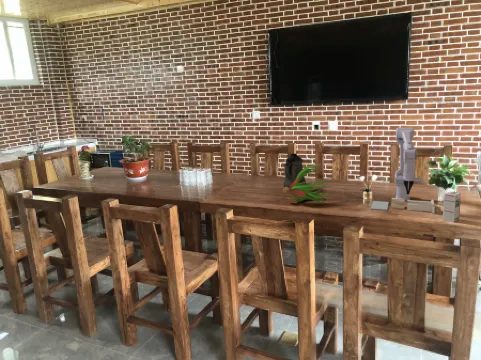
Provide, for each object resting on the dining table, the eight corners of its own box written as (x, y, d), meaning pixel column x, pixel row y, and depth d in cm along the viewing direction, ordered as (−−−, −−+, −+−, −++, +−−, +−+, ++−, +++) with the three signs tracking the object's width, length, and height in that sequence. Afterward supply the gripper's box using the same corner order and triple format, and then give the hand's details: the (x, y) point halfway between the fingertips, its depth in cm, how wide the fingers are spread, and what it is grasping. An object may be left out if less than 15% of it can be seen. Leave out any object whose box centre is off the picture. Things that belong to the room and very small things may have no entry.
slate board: (373, 201, 241) (373, 200, 241) (388, 202, 238) (388, 201, 237) (370, 209, 227) (370, 208, 227) (387, 210, 223) (387, 209, 223)
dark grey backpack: (306, 185, 290) (306, 151, 285) (306, 191, 272) (306, 156, 266) (284, 185, 293) (283, 152, 288) (282, 191, 275) (281, 156, 269)
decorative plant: (279, 207, 257) (321, 200, 264) (294, 210, 232) (339, 202, 239) (274, 168, 256) (317, 162, 263) (288, 166, 232) (334, 160, 238)
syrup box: (453, 222, 200) (456, 194, 197) (442, 219, 204) (444, 192, 201) (459, 219, 203) (461, 192, 200) (447, 217, 208) (449, 190, 205)
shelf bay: (407, 204, 233) (407, 198, 233) (433, 205, 228) (433, 200, 227) (407, 211, 219) (407, 205, 218) (434, 213, 214) (434, 207, 213)
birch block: (391, 206, 232) (391, 197, 231) (404, 206, 229) (404, 198, 228) (391, 208, 228) (391, 199, 227) (404, 209, 225) (404, 200, 224)
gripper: (395, 171, 221) (394, 194, 224) (423, 172, 215) (422, 196, 218) (395, 169, 227) (394, 191, 230) (423, 170, 221) (421, 193, 224)
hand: (408, 193), depth 224 cm, fingers closed
